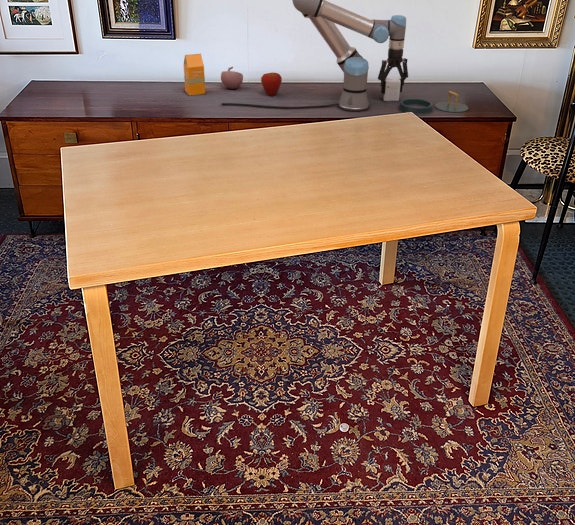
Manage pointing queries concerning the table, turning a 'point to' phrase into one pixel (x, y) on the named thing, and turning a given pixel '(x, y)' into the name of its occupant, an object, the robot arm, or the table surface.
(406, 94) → the table surface
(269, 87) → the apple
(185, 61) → the orange juice
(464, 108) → the tin lid
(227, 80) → the decorative fruit
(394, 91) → the small box
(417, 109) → the tin
